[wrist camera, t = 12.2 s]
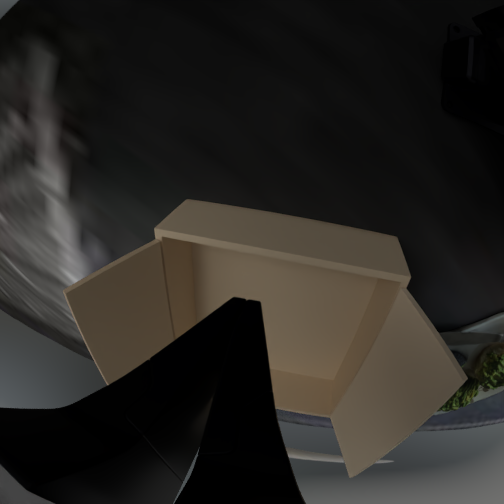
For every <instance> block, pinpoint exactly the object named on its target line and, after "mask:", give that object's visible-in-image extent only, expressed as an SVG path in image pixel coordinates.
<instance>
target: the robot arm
mask: <svg viewBox="0 0 504 504" xmlns="http://www.w3.org/2000/svg"><path fill="white" fill-rule="evenodd" d="M472 19H473V21H474V23H475V24H476V26H477V28H478V27H479V28H480V30H481V32H482V33H483V34H479V33H477V32H475V31H473V30H471V29H469V28H467V27H465V26H463V25H460V24H458V23H455V22H454V23H451V24H449V25H448V39H447V43H445V44H444V51H443V63H442V73H441V77H442V79H443V81H444V85H443V93H442V100H441V105H442V107H443V109H444V110H446V111H448V112H451V113H453V114H456V115H458V116H461V117H463V118H466V119H468V120H471V121H473V122H475V123H478V124H480V125H482V126H485V127H487V128H489V129H491V130H493V131H495V132H497V133H500V134H502V135H504V5H503V6H500V7H497V8H494V9H491V10H489V11H486V12H484V13H482V14H479V15H477V16H475V17H473V18H472ZM453 27H455V28H457V30H458V33H457V32H455V31H454V28H453ZM447 101H450V103H451V107H449V108H448V106H447ZM199 447H200V448H199ZM198 449H199V452H198V457H197V459H196V462H195V465H194V468H193V471H192V473H191V476H190V478H189V479H188V481H187V483H186V485H185V487H184V488H183V490H182V491H181V493H180V495H179V496H178V498H177V500H176V501H175V503H174V504H306V503H305V501H304V499H303V497H302V495H301V492H300V490H299V488H298V485H297V482H296V479H295V476H294V473H293V470H292V467H291V464H290V461H289V457H288V454H287V451H286V448H285V445H284V442H283V438H282V434H281V431H280V427H279V423H278V419H277V413H276V407H275V401H274V393H273V387H272V379H271V372H270V364H269V357H268V349H267V342H266V334H265V327H264V320H263V312H262V305H261V302H260V301H257V300H251V299H248V300H246V299H245V298H240V297H232V298H231V299H229V300H228V301H227V302H225V303H224V304H223V305H221V306H220V307H219V308H217V309H216V310H215V311H213V312H212V313H211V314H209V315H208V316H207V317H205V318H204V319H203V320H201V321H200V322H198V323H197V324H196V325H194V326H193V327H192V328H190V329H189V330H188V331H186V332H185V333H184V334H182V335H181V336H179V337H178V338H177V339H175V340H174V341H173V342H171V343H170V344H169V345H167V346H166V347H164V348H163V349H162V350H160V351H159V352H157V353H156V354H155V355H153V356H152V357H151V358H150V360H146V361H145V362H143V363H142V364H141V365H139V366H138V367H136V368H135V369H133V370H132V371H130V372H129V373H127V374H126V375H124V376H123V377H121V378H119V379H118V380H116V381H114V382H112V383H111V384H109V385H107V386H106V387H103V388H102V389H100V390H98V391H96V392H94V393H92V394H90V395H89V396H87V397H85V398H83V399H81V400H79V401H77V402H75V403H73V404H71V405H68V406H65V407H61V408H55V409H18V408H0V504H173V502H174V500H175V498H176V496H177V494H178V492H179V490H180V488H181V485H182V483H183V482H182V481H184V479H185V477H186V475H187V473H188V471H189V469H190V466H191V464H192V462H193V460H194V458H195V455H196V454H197V451H198Z"/></svg>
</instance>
